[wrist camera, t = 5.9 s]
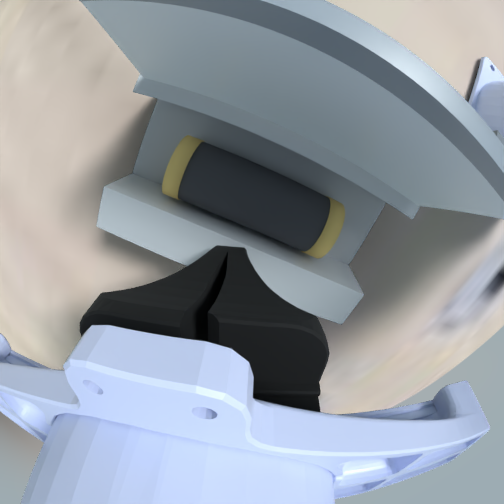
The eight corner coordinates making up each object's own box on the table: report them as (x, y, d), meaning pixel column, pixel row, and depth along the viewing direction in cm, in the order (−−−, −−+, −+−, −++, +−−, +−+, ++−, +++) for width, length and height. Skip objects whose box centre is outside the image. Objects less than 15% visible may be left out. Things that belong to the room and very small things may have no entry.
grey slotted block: (392, 185, 14) (422, 202, 11) (329, 289, 17) (341, 324, 14) (167, 81, 12) (141, 71, 9) (125, 205, 15) (96, 226, 12)
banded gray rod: (315, 225, 16) (344, 191, 13) (310, 269, 14) (344, 236, 11) (184, 169, 14) (195, 124, 12) (159, 206, 13) (165, 158, 10)
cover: (417, 206, 10) (423, 188, 10) (537, 227, 4) (542, 198, 4) (143, 78, 9) (154, 60, 8) (66, -14, 2) (91, -41, 2)
